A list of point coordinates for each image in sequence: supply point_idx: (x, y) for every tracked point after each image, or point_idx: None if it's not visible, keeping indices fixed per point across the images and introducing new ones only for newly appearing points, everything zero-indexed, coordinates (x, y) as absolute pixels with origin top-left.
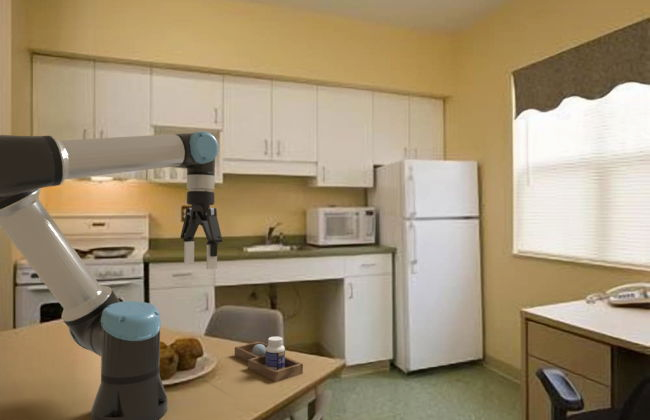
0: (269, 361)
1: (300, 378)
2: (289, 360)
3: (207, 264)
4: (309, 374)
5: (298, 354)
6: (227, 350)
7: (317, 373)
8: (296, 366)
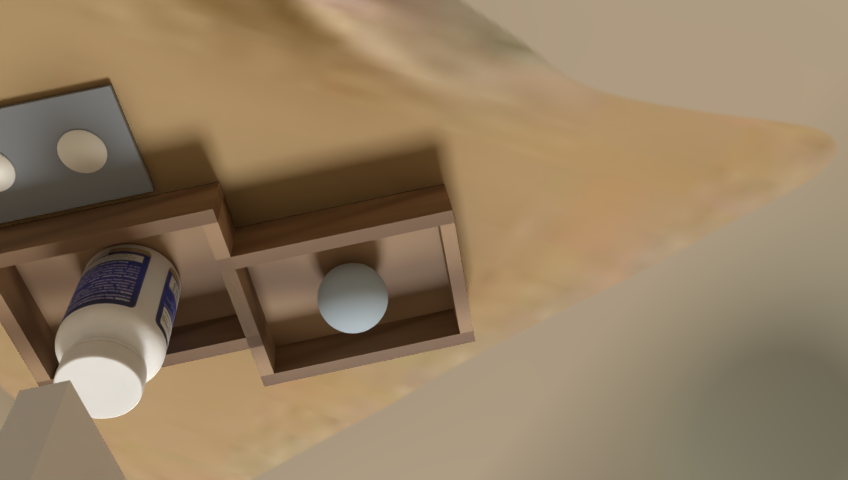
0: (88, 281)
1: None
2: None
3: (8, 449)
4: None
5: (326, 424)
6: (568, 183)
7: None
8: (27, 362)
